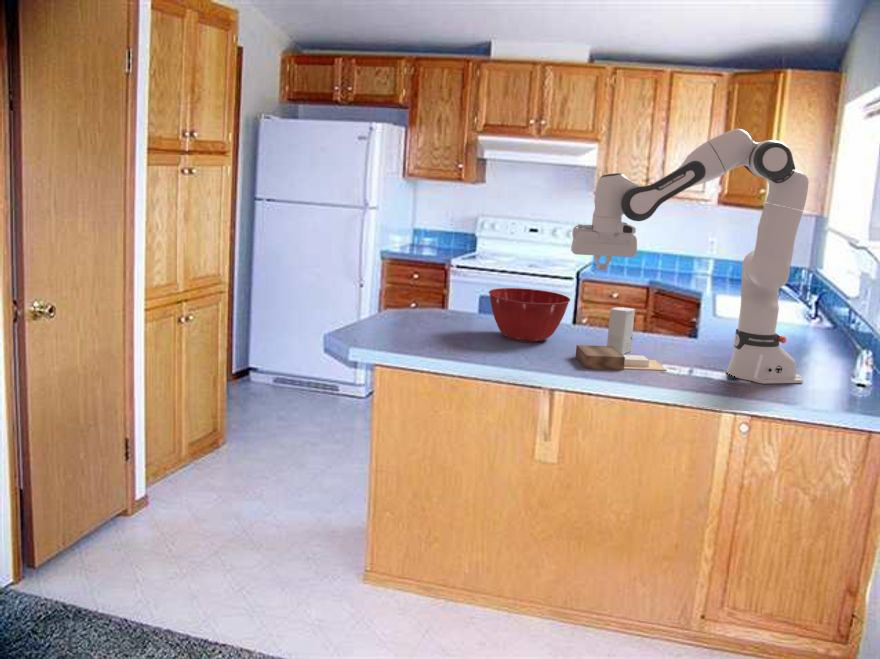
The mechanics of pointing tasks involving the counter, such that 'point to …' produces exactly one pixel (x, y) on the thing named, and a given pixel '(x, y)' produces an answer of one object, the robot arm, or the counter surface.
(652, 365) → the mat
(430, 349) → the counter surface
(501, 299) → the mixing bowl
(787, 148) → the robot arm
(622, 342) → the skincare box
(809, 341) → the counter surface
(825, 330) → the counter surface
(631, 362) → the white rectangular prism
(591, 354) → the brown box
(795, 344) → the counter surface
